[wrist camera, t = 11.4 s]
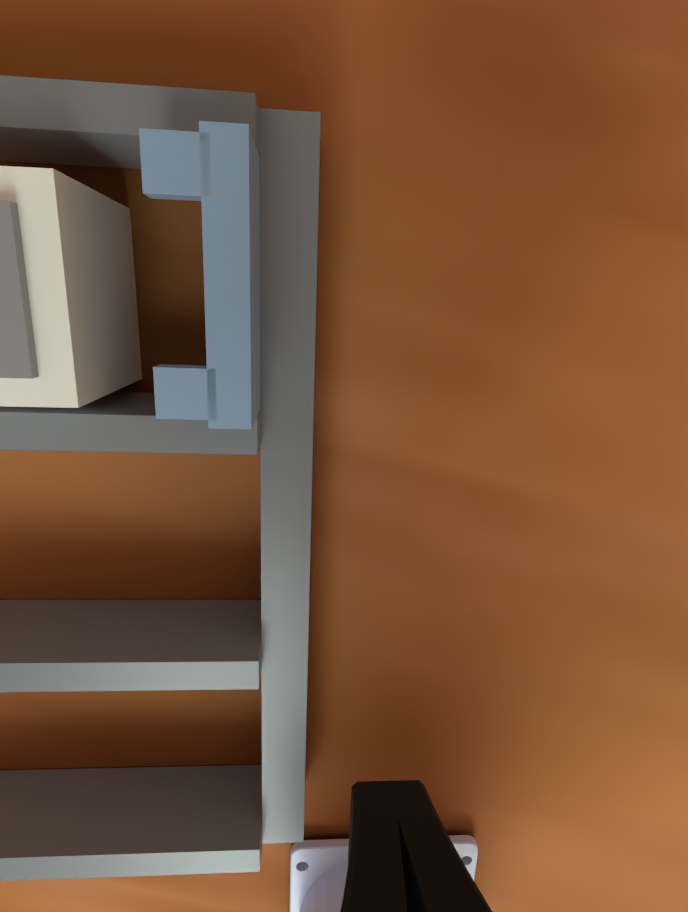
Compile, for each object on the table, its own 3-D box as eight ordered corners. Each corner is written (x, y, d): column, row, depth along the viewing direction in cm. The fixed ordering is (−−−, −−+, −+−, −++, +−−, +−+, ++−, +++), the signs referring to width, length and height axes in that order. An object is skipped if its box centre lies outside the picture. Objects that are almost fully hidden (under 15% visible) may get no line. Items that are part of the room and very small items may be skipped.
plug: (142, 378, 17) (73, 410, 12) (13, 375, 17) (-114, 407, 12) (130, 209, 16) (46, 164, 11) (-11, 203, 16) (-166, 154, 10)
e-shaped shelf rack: (304, 783, 22) (302, 917, 17) (-14, 791, 21) (-109, 935, 16) (318, 141, 16) (323, 69, 11) (-139, 113, 15) (-357, 20, 10)
